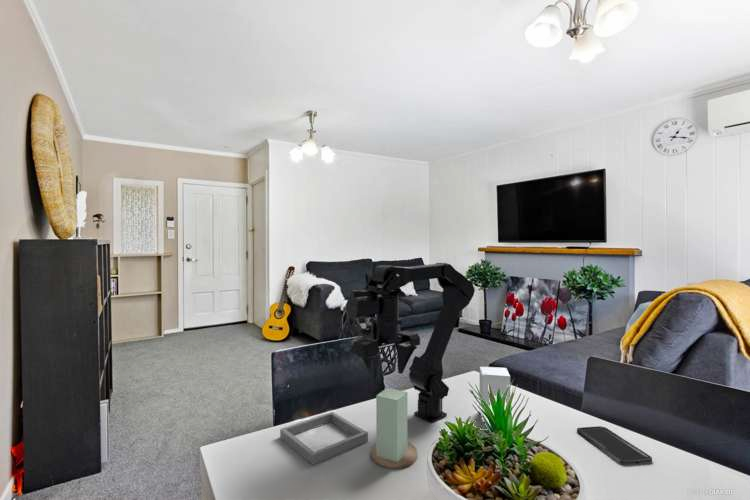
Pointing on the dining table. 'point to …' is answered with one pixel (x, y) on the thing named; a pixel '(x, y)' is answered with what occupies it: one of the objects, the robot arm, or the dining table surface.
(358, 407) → the dining table surface
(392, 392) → the green block
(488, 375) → the supplement box
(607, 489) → the dining table surface
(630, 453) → the phone
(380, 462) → the coaster
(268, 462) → the dining table surface
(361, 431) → the tray
